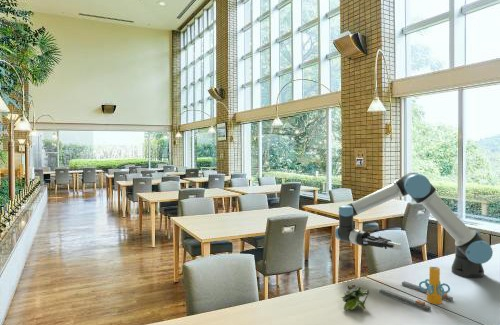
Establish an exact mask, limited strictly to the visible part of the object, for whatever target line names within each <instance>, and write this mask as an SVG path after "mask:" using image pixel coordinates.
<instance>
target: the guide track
mask: <svg viewBox="0 0 500 325" xmlns="http://www.w3.org/2000/svg"><path fill="white" fill-rule="evenodd" d="M401 285H402V286H403V287H406V288H409V289H412V290H416V291H418V292H421V293H422V294H423V293H424V294H426V295H427V290H426V291H424V290H421V289H420V287H419V285H416V284H414V283H410V282H408V281H405V280H404V281H402V282H401ZM421 287H422V286H421ZM422 288H423V289H426V288H427V287H422ZM379 293H380V294H382V295H385V296H387V297H390V298H392V299H395V300H398V301H400V302H402V303H405V304H408V305H410V306H413V307H415V308H417V309H421V310H423V311H426V312H430V311H431V310H432V309H431V308H432V307H431V305H427V304H426V302H425V301H423V300H421V299H416V300H414V299H412V298H409V297H406V296H404V295H400V294H398V293H395V292H392V291H390V290H387V289H385V288H380V289H379ZM441 293H442V292H441ZM442 300H444V301H447V302H453V301H454V297H452V296H449V295H448V293H444V295H443V296H442Z"/></svg>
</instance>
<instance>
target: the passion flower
mask: <svg viewBox="0 0 500 325" xmlns="http://www.w3.org/2000/svg"><path fill="white" fill-rule="evenodd" d="M347 289H348V291H345V292H344V294H343V296H341V299H342V302H344V305H343V309H344V311H348V310H350V311H351V310H352V311H353V309H356V307H358V306H360V307H361V308H362V311H364V310H365V309H367V308H366V306H365V304H366V300H367V298H368V296H369V294H370V291H369V289H366V290H364V288H363V287H361V286H359V287H358V286H357V284H351V285H347ZM365 295H366V296H365ZM364 296H365V298H364V300H363V301H362V300H360V297H362V298H363V297H364Z"/></svg>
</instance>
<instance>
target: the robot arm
mask: <svg viewBox="0 0 500 325" xmlns="http://www.w3.org/2000/svg"><path fill="white" fill-rule="evenodd" d="M407 195H408V196H410V197H411V198H412V200H413V201H415V203H416V204H418V205H419V204H420V205H422V207H424V208H425V209H426V210H427V212H429V213H430V215H432V217H433V218H434V219H435V221H437V222H438V224H439V225H440V226H442V228H443V229H444V230H445V231H446V232H447V233H448V234H449V235H450V236H451V237H452V238H453V239H454V241H455V242H454V245H455V250H454V251H455V252H454V253H455V254H454V255H455V256H454V259H453V263H452V265H451V273H453V274H454V275H458V276H460V277H464V278H472V279H476V278H483V277H485V270H484V267H483V264H486V263H488V262H489V261H490V260H491V259H492V257H493V253H494V252H493V248H492V246H491V245H490V243H489V242H488V241H485V240H484V239H483V237H482V234H481V232H480V231H478V230H473V229H469V227H468V226H467V225H466V224H465V223H464V222H463V220H461V219H460V217H459V216H457V214H456V213H455V212H454V211H453V210H452V209H451V208H450V207H449V206H448V205H447V204H446V203H445V202H444V200H443V199H441V197H440V196H439V195H438V194H437V189H436V187H435V186H434V185H433V184H432V183H431V182H430V181H429V178H428V177H426V176H425V175H423V174H421V173H418V172H409V173H407V174H405V175H403V176H401V177H400V178H398V179H395V180H393V182H392V183H391V184H389V185H386V186H385V187H382V188H380V189H378V190H376V191H373V192H372V193H370V194H368V195H366V196H364V197H362V198H359V199H357V200H354V201H352V202H351V203H349V204H348V203H347V204H343V205H340V206H338V222H339V223H338V226H337V227H336V228H335V230H334V236H335V238H336V239H337V240H339V241H341V242H345V243H350V244H353V245H355V246H362V247H368V246H369V247H376V248H381V249H383V248H384V249H385V250H386V249H387V250H388V249H392V250H397V251H401V250H402V243H397V242H393V241H392V240H391V239H387V238H385V237H382V236H380V235H379V236H374V235H371V234H370V233H369V232H368V231H365V230H359V229H354V217H356V216H358V215H360V214H363V213H366V212H367V211H369V210H371V209H373V208H376V207H379V206H380V205H383V204H385V203H387V202H389V201H392V200H394V199H395V198H398V197H405V196H407Z"/></svg>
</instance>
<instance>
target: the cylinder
mask: <svg viewBox="0 0 500 325" xmlns="http://www.w3.org/2000/svg"><path fill="white" fill-rule="evenodd" d="M440 270H441V269H440V267H437V266H429V272H428V273H429V274H428V276H429V278H426V279H425V280H421V281H420V282H419V283H418V284H419V285H418V286H419V287H420V289H421V290H424V291H426V290H427V294H426V301H427V302H428V303H430V304H432V305H441V304H442V303H443V299H442V296H443V295H444V293H447V294H448V293H449V292H450V291H451V286H449V284H447V283H441V279H440V275H441V271H440ZM422 284H424V285H425V288H426V289H423V288H424V287H423V288H422ZM443 286H445V287H447V290H446V291H445V289H444V287H443ZM441 292H442V293H441Z"/></svg>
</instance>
